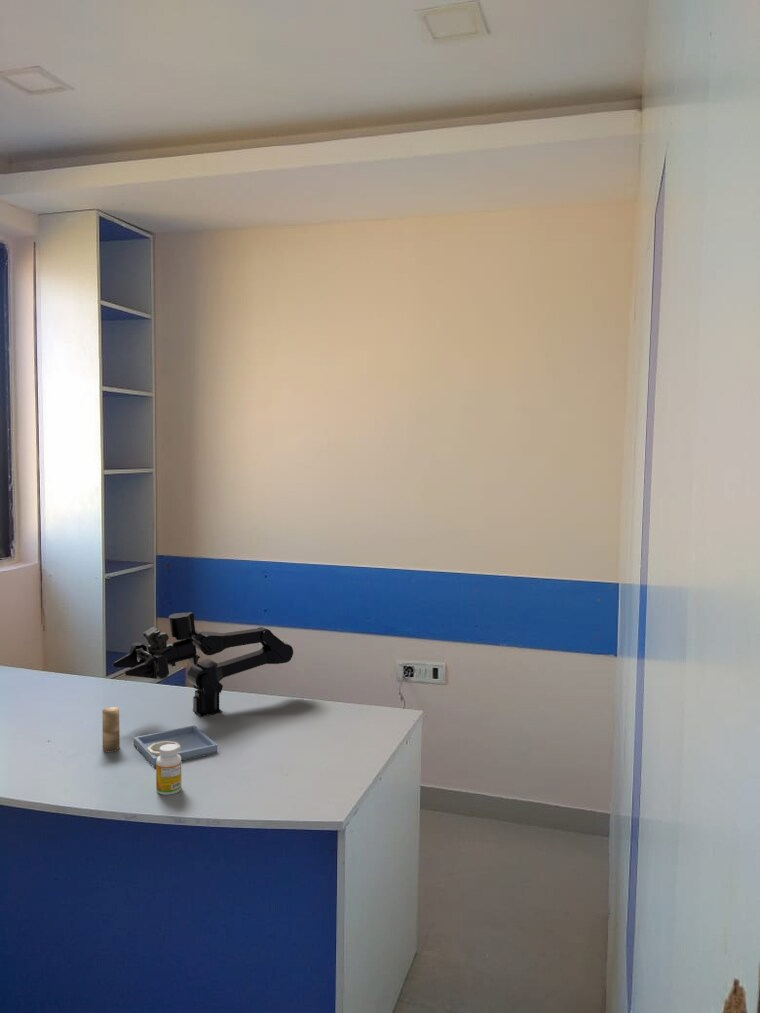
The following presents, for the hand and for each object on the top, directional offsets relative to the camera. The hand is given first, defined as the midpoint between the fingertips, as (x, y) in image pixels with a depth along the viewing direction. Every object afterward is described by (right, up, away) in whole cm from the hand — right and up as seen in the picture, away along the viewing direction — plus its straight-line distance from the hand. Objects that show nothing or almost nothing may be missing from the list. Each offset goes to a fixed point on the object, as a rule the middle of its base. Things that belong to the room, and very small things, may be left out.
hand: (118, 669), depth 202 cm
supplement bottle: (+23, -20, -34) cm, 45 cm away
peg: (+2, -18, -11) cm, 21 cm away
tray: (+18, -18, -11) cm, 27 cm away
